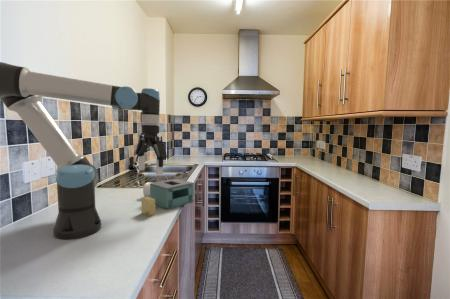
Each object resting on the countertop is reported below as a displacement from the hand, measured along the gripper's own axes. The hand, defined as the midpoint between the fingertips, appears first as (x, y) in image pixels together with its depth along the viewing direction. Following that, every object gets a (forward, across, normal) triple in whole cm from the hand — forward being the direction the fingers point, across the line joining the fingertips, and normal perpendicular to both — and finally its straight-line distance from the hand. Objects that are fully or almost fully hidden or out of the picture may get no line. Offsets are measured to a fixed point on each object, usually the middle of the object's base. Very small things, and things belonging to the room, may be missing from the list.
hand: (150, 172), depth 114 cm
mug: (+18, +17, -16) cm, 29 cm away
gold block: (+18, -3, +3) cm, 18 cm away
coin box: (+17, +2, -14) cm, 23 cm away
